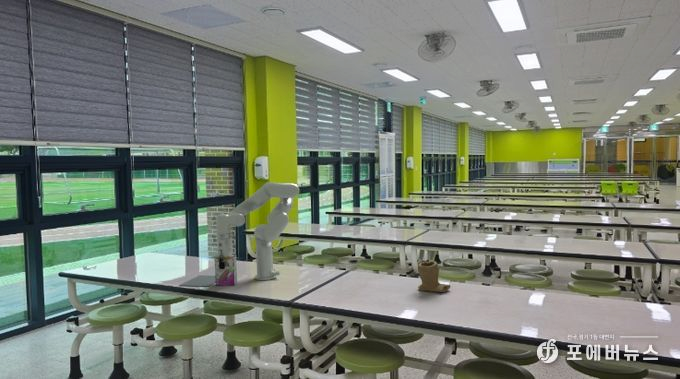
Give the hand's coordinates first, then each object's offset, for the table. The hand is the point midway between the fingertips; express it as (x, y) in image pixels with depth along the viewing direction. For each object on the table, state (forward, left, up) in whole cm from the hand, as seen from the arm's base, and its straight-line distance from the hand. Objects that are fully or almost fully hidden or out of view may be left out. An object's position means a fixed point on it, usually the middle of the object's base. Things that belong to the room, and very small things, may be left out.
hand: (225, 266), depth 253 cm
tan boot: (-114, +1, -10) cm, 114 cm away
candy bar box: (0, 0, -10) cm, 10 cm away
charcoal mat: (+17, -5, -10) cm, 20 cm away
